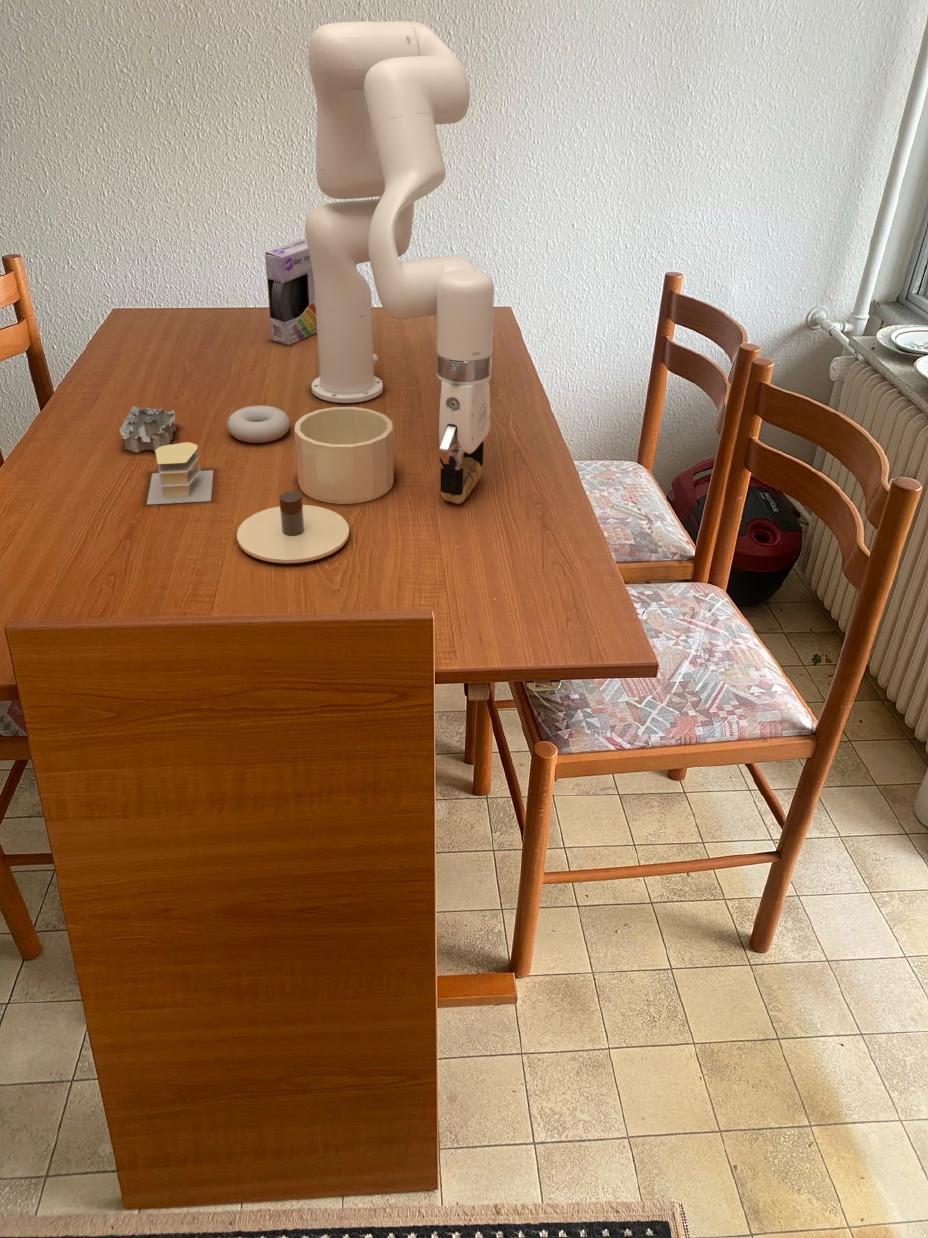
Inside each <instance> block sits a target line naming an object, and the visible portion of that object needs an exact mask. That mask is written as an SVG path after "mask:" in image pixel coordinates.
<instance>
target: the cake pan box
mask: <svg viewBox="0 0 928 1238" xmlns="http://www.w3.org/2000/svg"><path fill="white" fill-rule="evenodd" d="M264 260H265V272H266V283H267V284H266V285H267V293H268V294H267V295H268V308H269V309H268V310H269V323H270V332H271V341H272V342H274V343H278V344H280V345H284V346H290V345H292V344H295V343H297V342H299V341H301V340H303V339H305V338H308V337H310V336H312V335H315V334H317V322H316V306H315V290H314V279H313V270H312V264H311V259H310V254H309V250H308V245H307V241H306V237H305V238H300V239H298V240H294V241H292V242H289V243H287V244H284V245H282V246H279V247H276V248H272V249H269V250H265V253H264Z"/></svg>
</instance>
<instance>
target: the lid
mask: <svg viewBox="0 0 928 1238" xmlns="http://www.w3.org/2000/svg"><path fill="white" fill-rule="evenodd" d="M278 502H279V506H273V507H270V508H266V509H263V510H260V511H258V512H255V513H254V514H252V515H250V516H249V517H247V518H246V519H245V520H243V521H242V522H241V524H239V526H238V528H237V531H236V541H237V544H238V546H239V547H240V549H241V550H242V551H244V553H246V554H248V555H249V556H251V557H253V558H255V559H258V560H260V561H264V562H269V563H270V562H271V563H275V564H276V563H277V564H299V563H300V564H301V563H306V562H311V561H312V562H313V561H315V560H316V561H317V560H321V559H323V558H326V557H328V556H330V555H332V554H335V552H338V551H339V550H341V548H342V547H343V546H345V544H346V543H347V542H348V540H349V537H350V526H349V523H348V522H347V520H346V519H345V518H344V517H343V516H342V515H341V514H339V513H337V512H336V511H333V510H331V509H328V508H325V507H321V506H317V505H311V504H303V496H302V494H301V493H300V492H299V491H295V490H294V491H293V490H292V491H291V490H290V491H285V492H281V493H280V494H279V496H278Z"/></svg>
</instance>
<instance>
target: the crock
mask: <svg viewBox="0 0 928 1238" xmlns="http://www.w3.org/2000/svg"><path fill="white" fill-rule="evenodd" d="M393 432H394V427H393V421H392V420H391V419H390V418H389V417H388V416H387V415H386V414H384V413H382V412H379V411H376V410H374V409H372V408H371V409H370V408H364V407H358V406H333V407H327V408H323V409H316V410H314V411H312V412H309V413H307V414H304V415H302V416H301V417H300V418H299V419H298V420H297V421H296V422H295V423H294V442H295V445H294V446H295V456H296V470H297V481H298V486H299V489H300V490H301V491H302V493H303V494H305V495H307V497H309V498H311V499H313V500H316V501H318V502H319V501H320V502H322V503H329V504H337V505H351V504H352V505H353V504H360V503H361V504H362V503H365V502H369V501H373V500H375V499H378V498H381V497H382V496H384V495H385V494H387V493H388V492H389V491H391V489H392V487H393V485H394V483H395V482H394V481H395V480H394V433H393Z"/></svg>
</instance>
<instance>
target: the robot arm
mask: <svg viewBox="0 0 928 1238" xmlns="http://www.w3.org/2000/svg"><path fill="white" fill-rule="evenodd" d="M307 47H308V50H307V62H308V63H307V64H308V69H309V75H310V78H311V82H312V86H313V89H314V94H315V99H316V139H315V140H316V147H315V148H316V149H315V150H316V151H315V172H316V181H317V186H318V187H319V190H320V191H321V192H322V193H323V195H324V196H326V197H329V198H330V199H336V200H345V201H337V202H329V203H325V204H320V205H318V206H317V207H315V208H313V209H311V211H310V212H309V213H308V215H307V216H306V219H305V222H304V235H305V238H306V241H307V245H308V250H309V254H310V259H311V264H312V270H313V279H314V290H315V306H316V322H317V333H316V337H317V353H318V370H319V371H318V373H319V376H318V377H317V378H315V379H314V380H313V381H312V382H311V384H310V385H311V386H310V387H311V393H312V395H314V396H315V397H317V398H318V399H320V400H323V401H325V402H331V403H337V404H356V403H363V402H367V401H370V400H373V399H375V398H377V397H379V396H380V395H381V394H382V393H383V390H384V385H383V381H382V380H381V378H379V377H377V376H376V375H375V369H374V366H375V364H377V363H378V361H379V357H378V355H377V354H376V353H374V336H373V335H374V333H373V332H374V331H373V301H372V300H373V299H372V298H373V297H372V290H371V287H370V285H369V283H368V281H367V280H366V278H365V277H364V276H363V275H362V273H360V271H359V270H358V269H357V265H359V264H364V263H368V262H369V264H370V267H371V268H370V269H371V273H372V276H373V282H374V286H375V290H376V293H377V296H378V299H379V303H380V304H381V307H382V308H383V310H384V312H385V313H386V314H387V315H388V316H390V317H391V318H393V319H397V320H410V319H418V318H424V317H431V316H436V377H437V379H438V380H440V381H441V385H440V395H439V397H440V399H439V413H438V414H439V415H438V417H439V418H438V442H439V449H438V452H439V453H438V454H439V462H440V463H439V468H440V487H439V488H440V493H441V492H443V493H449V494H455V495H461V494H462V493H463V468H461V464H462V460H463V458H465V457H470V458H473V459H475V460H476V461H477V462H478V463H479V464H480V466H481V468H482V466H484V451H485V450H484V449H485V448H484V447H485V446H484V445H485V438H486V437H487V435H488V434H489V433H490V430H491V389H490V379H491V378H492V365H493V364H492V362H493V327H494V301H495V300H494V299H495V297H494V296H495V286H494V282H493V279H492V278H491V276H490V275H488V274H487V273H485V272H484V271H480V270H478V269H477V268H476V266H475V265H474V263H473V262H472V261H471V260H470V259H469V258H467V257H466V256H464V255H446V256H438V257H437V256H436V257H426V258H418V259H410V260H402V261H400V257H402V256H403V255H404V254H406V252H407V251H408V249H409V247H410V244H411V240H412V233H413V224H414V223H413V222H414V212H415V211H414V210H415V202H417V201H418V200H420V199H422V198H424V197H425V196H427V195H430V193H432V192H433V191H435V190H436V189H438V188H439V187H440V186H441V185H442V184H443V183H444V181H445V179H446V176H447V171H446V165H445V161H444V157H443V153H442V152H443V151H442V149H441V144H440V138H439V134H438V130H437V126H438V125H449V124H457V123H459V122H460V121H462V120H463V119H464V118H465V117H466V116H467V113H468V111H469V108H470V102H471V90H470V84H469V80H468V76H467V74H466V71H465V69H464V67H463V65H462V63H461V62H460V60H459V59H458V57H457V56H456V54H455V53H454V52H453V51H452V49H450V47H449V46H448V45H447V44H446V43H445V42H444V41H443V40H442V39H441V38H440V37H439V36H438V35H437V34H436V32H434V31H433V29H432V28H430V27H429V26H428V25H426V24H424V23H421V22H418V21H408V20H406V21H405V20H404V21H403V20H401V21H343V22H342V21H340V22H332V23H326V24H323V25H321V26H318V27H317V28H316V29H315V30H314V31H313V33H312V34H311V35H310V39H309V43H308V46H307ZM436 125H437V126H436ZM377 197H378V198H377ZM366 198H371V199H366ZM354 199H356V200H354ZM357 199H361V200H357ZM347 200H348V201H347ZM454 445H458V446H454ZM452 453H453V454H456V458H455V456H454V455H452Z"/></svg>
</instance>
